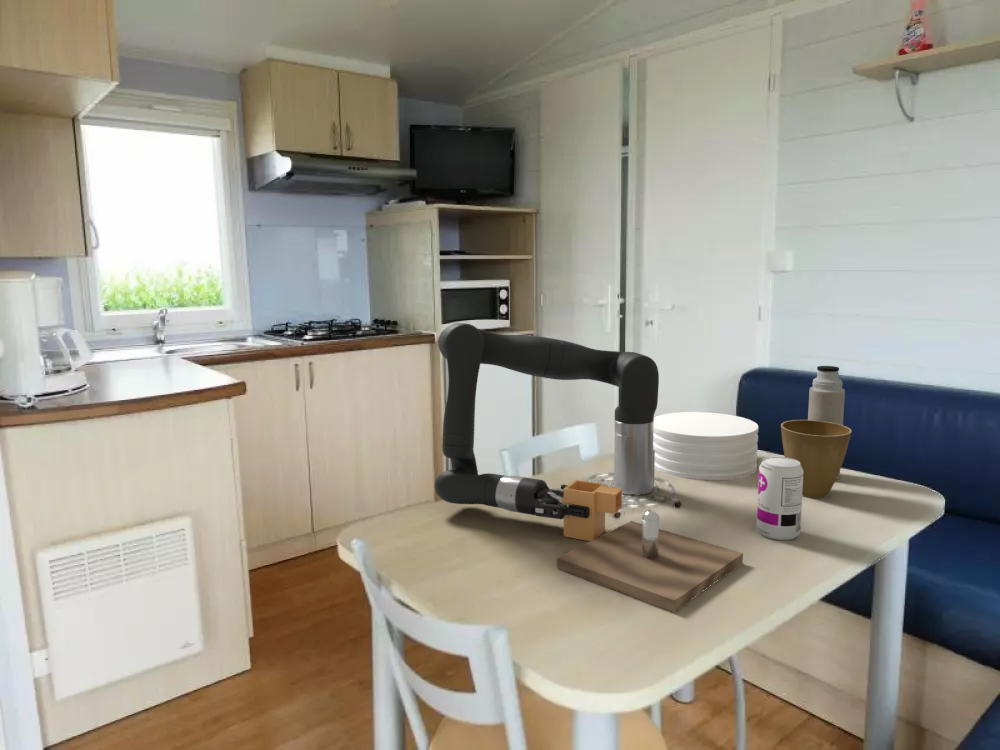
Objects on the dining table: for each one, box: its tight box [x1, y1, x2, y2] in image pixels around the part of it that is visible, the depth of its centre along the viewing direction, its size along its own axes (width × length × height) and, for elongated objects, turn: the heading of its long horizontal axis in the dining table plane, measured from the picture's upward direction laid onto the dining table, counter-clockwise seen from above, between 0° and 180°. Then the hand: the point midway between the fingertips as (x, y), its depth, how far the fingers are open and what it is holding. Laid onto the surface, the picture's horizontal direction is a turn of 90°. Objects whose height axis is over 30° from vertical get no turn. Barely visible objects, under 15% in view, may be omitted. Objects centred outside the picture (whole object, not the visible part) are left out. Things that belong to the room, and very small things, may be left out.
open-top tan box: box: [563, 479, 623, 542], centre depth 140 cm, size 10×6×10 cm, turn 61°
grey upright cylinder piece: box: [641, 509, 660, 559], centre depth 126 cm, size 3×3×8 cm
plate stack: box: [653, 411, 759, 481], centre depth 188 cm, size 28×28×12 cm
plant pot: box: [780, 419, 852, 499], centre depth 162 cm, size 15×15×16 cm
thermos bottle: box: [807, 365, 846, 480], centre depth 174 cm, size 8×8×28 cm
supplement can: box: [756, 456, 803, 541], centre depth 139 cm, size 8×8×15 cm
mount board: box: [556, 520, 744, 613], centre depth 127 cm, size 24×24×2 cm
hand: (595, 507), depth 140 cm, fingers closed on open-top tan box, 6 cm apart
